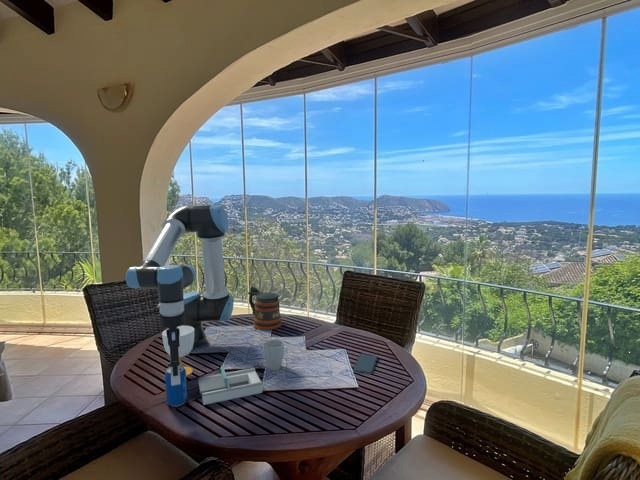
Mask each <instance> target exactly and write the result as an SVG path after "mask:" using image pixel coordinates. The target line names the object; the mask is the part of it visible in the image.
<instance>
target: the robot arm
mask: <svg viewBox="0 0 640 480" xmlns="http://www.w3.org/2000/svg"><path fill="white" fill-rule="evenodd" d="M228 218H229V217H228V214H227V211H226V209H225V208H224V207H223V206H222V205H216V204H215V205H214V204H208V205H207V204H202V205H200V204H199V205H183V206H181V207H179V208H177V209H175V210H173V212H171V213H169V215H168V216H167V217H166V218H165V219H164V221H163V222H162V225H161V227H162V229H161V230H160V232H159V234H158V236H157V237H156V238H155V240H154V241H153V244H152V245H151V247H150V249H149V250H148V251H147V253H146V254H145V257H143V260H142V261H141V263H140V264H139V265H138V266H131V267H129V268H128V269H127V271H126V273H125V282H126V285H127V286H128V287H129V288H131V289H140V290H141V289H157V291H158V304H157V305H156V308H159V324H160V327H161V328H163V329H168V328H169V330H167V338H168V345H169V347H170V355H169V360H170V361H169V362H170V363H169V364H167V365H168V366H167V368H169V367H170V370H171V386H173V385H178V384H180V363H179V352H178V347H180V344H179V336H180V331H179V328H177V327H178V326H191V327H193V328H194V344H193V348H197V347H200V346H202V345H204V344H205V343H206V342H207V335H206V332H205V330H204V328H203V324H202V323H203V322H227V321H230V319H231V317H232V315H233V311H234V301H235V299H234V296H233V295H230V292H229V289H227V288H226V281H225V269H224V253H223V252H224V251H223V240H222V239H223V238H224V237H225V235H226V234H225V233H227V232H228V230H229V219H228ZM187 233H196V235H197V236H196V237H197V238H198V239H199V240H200V242H201V248H202V249H201V250H202V260H203V262H202V263H203V270H204V271H203V273H204V282H205V284H204V285H205V291H204V292H203V293H202V295H201V292H199V291H190V292H186V293H185V292H184V289H185V288H188V287H189V286H191V285H192V284H193V283H194V282H195V280H196V277H197V272H196V270H195V268H194V267H193V266H192V265H189V264H181V265H177V264H169V265H166V264H167V262H168V261H169V259H170V257H171V255H172V253H173V251H174V249H175V247H176V245H177V244H178V241H179V240H180V238H182V237H184V236H185V234H187ZM193 348H192V349H193Z"/></svg>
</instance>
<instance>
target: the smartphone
mask: <svg viewBox="0 0 640 480" xmlns="http://www.w3.org/2000/svg"><path fill="white" fill-rule="evenodd" d="M377 361H378V355H376V354H369V353H359V356H358V358H357V360H356V363H355V366H354V367H353V372H354V373H360V374H367V375H371V374H373V372H374V369H375V366H376V364H377Z"/></svg>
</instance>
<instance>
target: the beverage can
mask: <svg viewBox="0 0 640 480" xmlns="http://www.w3.org/2000/svg"><path fill="white" fill-rule="evenodd" d="M184 367H185V366H184V365H183V364H182V365H180V384H178V385H173V386H171V370H170V367H167V368H166V371H165V373H164V377H165V378H164V379H165V393H166V404H167V405H168V406H171V407H172V408H174V407H175V408H176V407H180V406H182V405H184V404H185V403H186V402H187V401H188V389H187V387H188V386H187V384H188V383H187V376H186V370H185V369H184Z"/></svg>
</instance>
